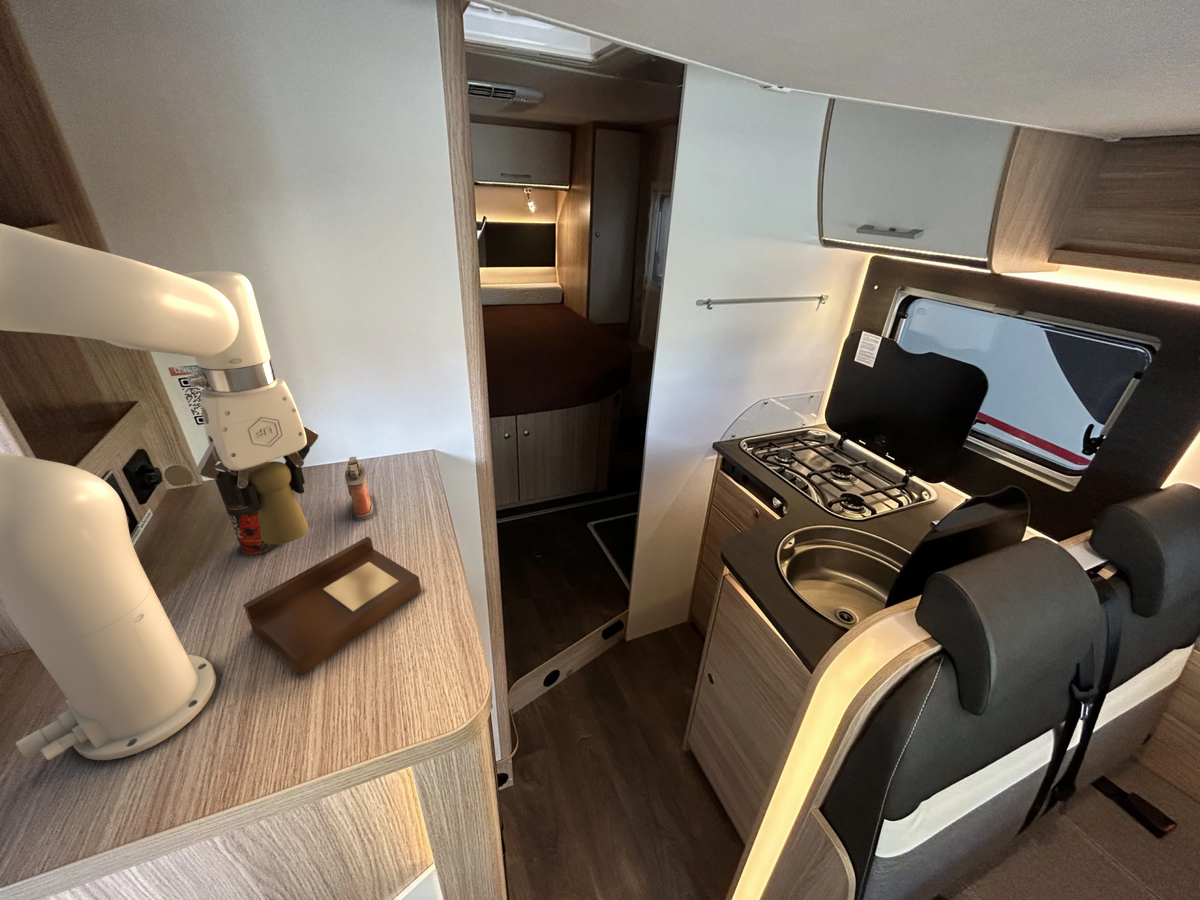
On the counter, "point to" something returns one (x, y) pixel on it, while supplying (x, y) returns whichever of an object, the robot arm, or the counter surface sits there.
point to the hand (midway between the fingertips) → (275, 497)
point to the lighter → (358, 489)
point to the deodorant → (242, 519)
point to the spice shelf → (330, 604)
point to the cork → (277, 504)
